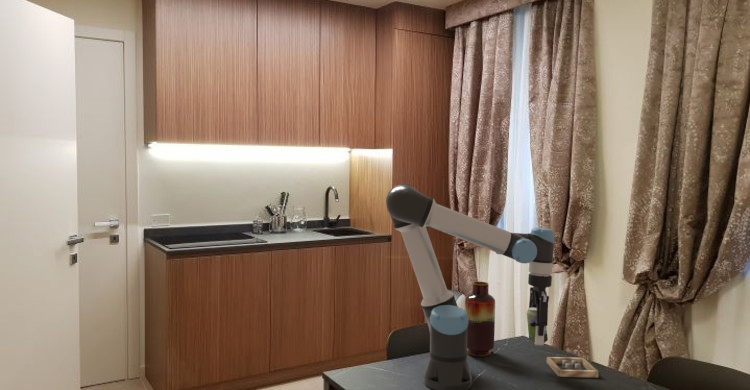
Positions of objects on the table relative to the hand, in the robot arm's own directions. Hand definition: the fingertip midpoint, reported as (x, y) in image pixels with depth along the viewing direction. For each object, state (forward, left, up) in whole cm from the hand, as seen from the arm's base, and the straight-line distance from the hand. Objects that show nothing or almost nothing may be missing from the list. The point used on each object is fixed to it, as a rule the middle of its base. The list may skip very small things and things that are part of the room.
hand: (536, 341), depth 182 cm
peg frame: (+13, +1, -10) cm, 16 cm away
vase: (-16, +16, -10) cm, 25 cm away
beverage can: (0, 0, -1) cm, 1 cm away
